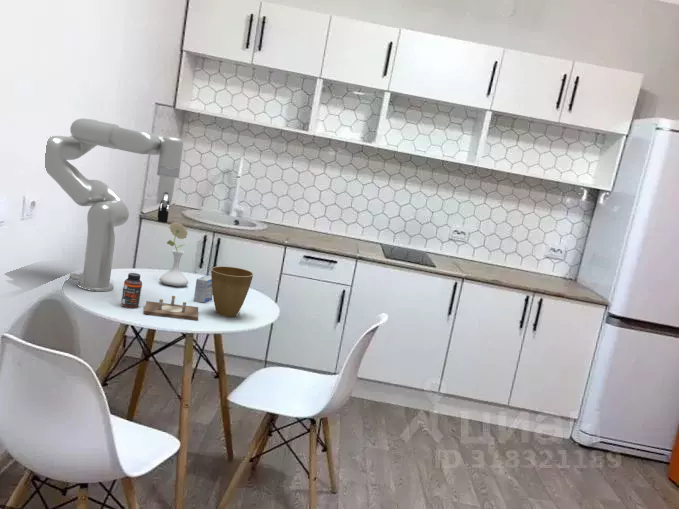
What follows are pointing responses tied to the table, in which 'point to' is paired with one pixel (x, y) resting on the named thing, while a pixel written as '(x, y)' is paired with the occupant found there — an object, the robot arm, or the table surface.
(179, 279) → the flower in vase
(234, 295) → the plant pot
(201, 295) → the medicine box
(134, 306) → the supplement bottle
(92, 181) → the robot arm
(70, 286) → the table surface
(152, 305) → the pin board
